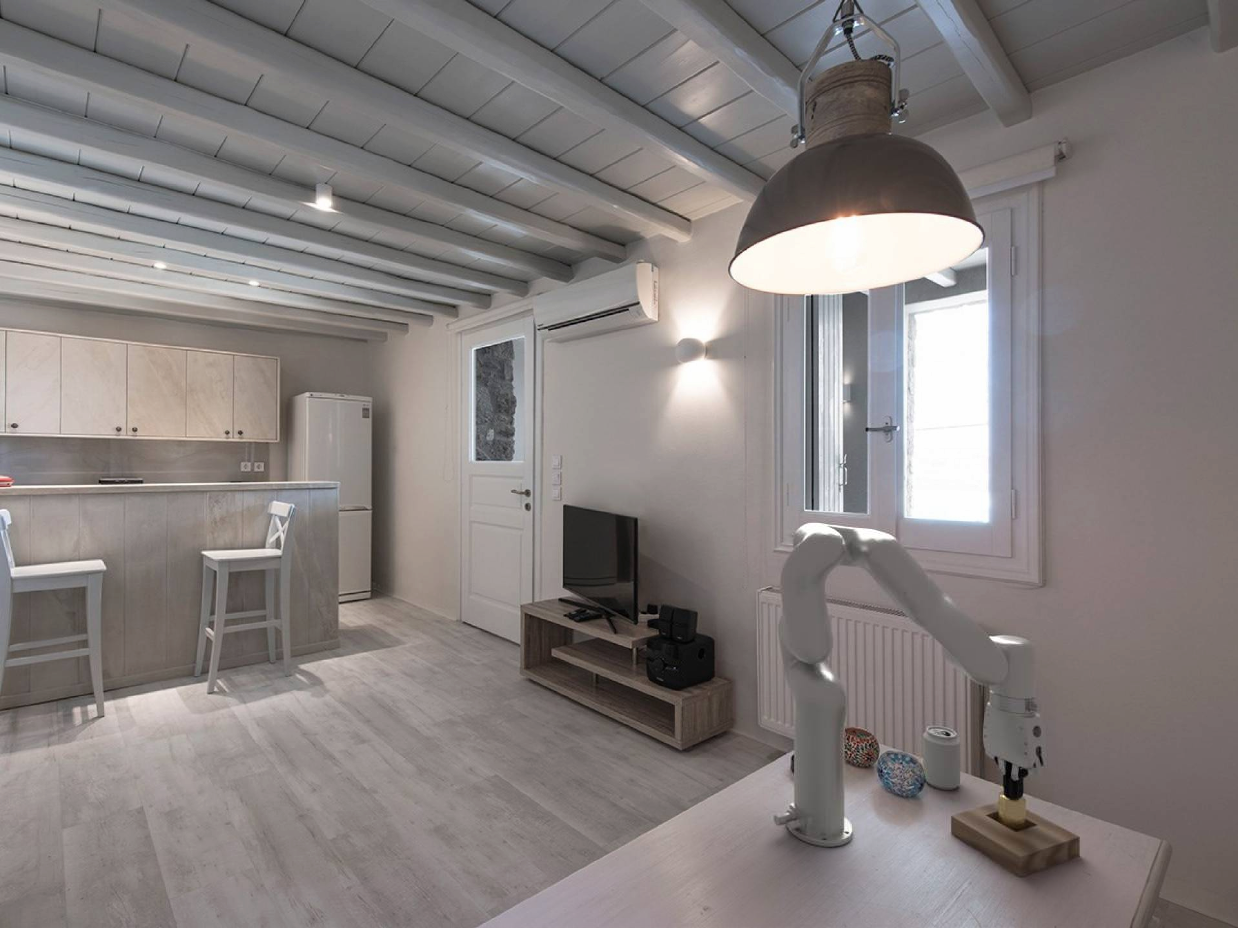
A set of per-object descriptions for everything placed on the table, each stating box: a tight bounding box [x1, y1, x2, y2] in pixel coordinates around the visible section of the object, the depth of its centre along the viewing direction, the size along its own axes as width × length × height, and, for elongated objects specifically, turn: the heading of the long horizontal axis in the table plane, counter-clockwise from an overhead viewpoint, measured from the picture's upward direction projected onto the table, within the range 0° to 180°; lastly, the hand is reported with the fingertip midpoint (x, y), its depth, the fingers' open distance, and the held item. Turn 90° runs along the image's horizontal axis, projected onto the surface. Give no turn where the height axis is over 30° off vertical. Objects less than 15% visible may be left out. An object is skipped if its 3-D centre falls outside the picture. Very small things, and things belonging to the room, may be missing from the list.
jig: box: [950, 801, 1081, 878], centre depth 118 cm, size 16×14×4 cm
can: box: [922, 725, 961, 791], centre depth 141 cm, size 8×8×12 cm
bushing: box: [998, 790, 1027, 832], centre depth 120 cm, size 4×4×8 cm
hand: (1013, 796), depth 120 cm, fingers closed
